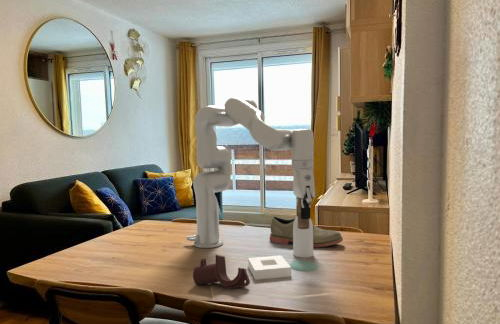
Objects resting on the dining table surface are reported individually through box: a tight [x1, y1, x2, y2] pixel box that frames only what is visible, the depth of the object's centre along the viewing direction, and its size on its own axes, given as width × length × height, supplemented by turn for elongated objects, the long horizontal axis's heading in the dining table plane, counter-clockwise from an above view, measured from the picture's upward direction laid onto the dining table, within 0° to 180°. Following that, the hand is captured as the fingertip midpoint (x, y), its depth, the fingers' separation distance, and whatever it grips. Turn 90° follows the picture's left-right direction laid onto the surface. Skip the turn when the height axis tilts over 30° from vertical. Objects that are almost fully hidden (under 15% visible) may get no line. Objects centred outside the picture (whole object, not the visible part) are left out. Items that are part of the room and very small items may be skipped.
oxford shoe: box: [269, 216, 344, 248], centre depth 151 cm, size 11×32×12 cm, turn 73°
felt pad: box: [289, 260, 319, 272], centre depth 124 cm, size 10×10×1 cm
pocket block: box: [247, 255, 292, 280], centre depth 119 cm, size 12×12×4 cm
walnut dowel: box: [296, 197, 309, 229], centre depth 122 cm, size 4×4×11 cm
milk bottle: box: [292, 215, 314, 259], centre depth 135 cm, size 8×8×20 cm
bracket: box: [192, 254, 251, 289], centre depth 109 cm, size 6×17×10 cm, turn 77°
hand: (303, 216), depth 122 cm, fingers closed on walnut dowel, 4 cm apart
